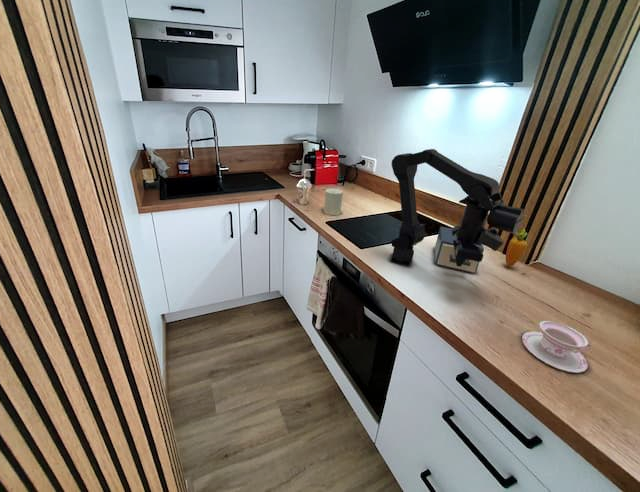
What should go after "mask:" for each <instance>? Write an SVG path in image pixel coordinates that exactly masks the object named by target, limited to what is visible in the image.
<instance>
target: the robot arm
mask: <svg viewBox="0 0 640 492" xmlns="http://www.w3.org/2000/svg"><path fill="white" fill-rule="evenodd" d="M423 164H426V165H428V166H430V167H432V168H433V169H434V170H436V171H438V172H439V173H441V174H443V175H444V176H446V177H447V178H448V179H450V180H452V181H454V182H455V183H457V184H458V185H459V186H460V188H461V190H462V191H463V192H464V193H465V194H466V195H467V196H465V197H464V198H462V199H460V200H459V201H458V203H459V204H463V205H465V208H464V211H463V215H462V218H461V219H460V220H459V225H456V226H453V227H452V229H453V230H452V235H453V236H454V235H455V233H456V237H457V239H456V240H453V245H454V252H455V258H456V265H457V266H459V267H461V266H462V264H463V263H464V262H465V260H466V259H468V260H473V261H478V262H479V263H482V261H483V259H484V252H483V253H482V250H481V249H480V248H479V247H477V245H480V246H481V244H482V245H483V246H485V247H488V248H490V249H491V250H492V251H493V252H497V251H498V250H499V249H500V248H501V247H502V246H503V245H504V244H505V242H504V240H503V237H501V236H500V235H498V230H500V231H503V232H506V233H510V234H511V235H516V234H515V233H516V232H517V231H518V230H519V229H520V227H521V225H522V223H523V220H524V219H523V217H524V208H520V207H515V206H510V205H506V204H504V203H505V202H504V199H503V197H502V195H501V193H500V183H499V182H498V181H497V180H496V179H495V178H493V177H490V176H487V175H485V174H481V173H477V172H473V171H471V170H469V169H468V168H465V167H464V166H462V165H461V164H459V163H458V162H456V161H454V160H452V159H450V158H449V157H447V156H445V154H444V155H443V154H442V153H440V152H438V150H437V149H435V148H427V149H424V150H422V151H419V152H416V153H411V152H409V153H408V152H407V153H401V154H397V155H395V156H394V157H393V158H392V160H391V168H392V172H393V175H394V176H395V178H396V180H397V181H398V188H399V200H400V209H401V220H402V221H401V225H400V226H399V227H400V228H399V229H398V230H399V231H398V237H396V238H394V239H392V240H391V241H390V243H391V247H393V250H392V254H391V258H390V262H391V263H393V264H394V263H395V264H398V265H402V266H403V265H404V266H407V267H409V266H411V263H412V262H413V258H414V255H415V249H414V246H417V244H420V243H421V242H422V241H423V240H424V239H425V236H426V235H427V233H426V231H425V230H426V229H425V227H426V226H425V224H424V223H420V221H419V219H418V213H417V212H418V210H417V199H416V188H415V177H416V174H417V171H418V165H423ZM486 223H487V225H488V226H489V227H490V228H485V224H486ZM475 244H476V245H475Z"/></svg>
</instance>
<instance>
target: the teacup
mask: <svg viewBox="0 0 640 492" xmlns="http://www.w3.org/2000/svg"><path fill="white" fill-rule="evenodd" d="M539 327H540V330H541V331H542V332H541V331H526V332H525V333H523V334H522V337H521V342H522V344H523V346H524V347H525V348H526V349H527V351H528V352H529V353H530V354H531V355H533V356H534V357H535V358H537V359H538V360H539V361H542V363H544V364H546V365H548V366H551V367H552V368H555V369H558V370H560V371H563V372H567V373H573V374H579V373H584V372H585V371H586V370H588V361H587V359H586V357H585V356H584V355H583V354H582V353H584V352H586V351H588V350H589V348H590V347H592V345H591V344H590V343H589V341H588V339H587V338H586V337H585V336H584V335H583V333H580V332H579V331H577V330H576V329H574V328H572V327H570V326H568V325H565V324H563V323H560V322H557V321H552V320H542V321H540V322H539Z"/></svg>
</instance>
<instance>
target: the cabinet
mask: <svg viewBox="0 0 640 492" xmlns="http://www.w3.org/2000/svg"><path fill="white" fill-rule="evenodd" d="M452 230H453V228H450V227H445V226H440V227H439V229H438V234H437V238H436V241H435V244H434V265H437V266H442V267H445V268H449V269H454V270H458V271H463V272H467V273H471V274H476V273H477V270H478V267H479V264H480V262H478V264H477V267H476V270H475V272H470V271H466V270H462V269H457V268H453V267H449V266H444V265H440V264H437V262H438V258H439V255H440V251H441V248H442V245H443V244H449V245H453V240H456V239H457V237H456V233H455V235H454V236H453V235H452ZM475 245H476V244H475ZM477 247H479V248H480V249H481V250H482V253H483V254H484V251H485V248H484V244H481V246H480V245H477Z"/></svg>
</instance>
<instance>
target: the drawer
mask: <svg viewBox="0 0 640 492" xmlns="http://www.w3.org/2000/svg"><path fill="white" fill-rule="evenodd" d="M437 264H440V265H439V266H441V265H444V266H443V267H445V266H449V267H453V268H452V269H454V268H457V269H456V270H458V269H462V270H466V271H470V272H469V273H471V272H475V270H476V267H477V264H478V261H473V260H468V259H466V260H465V262H464V263H463V264H462V266H461V267H459V266H457V265H456V258H455V252H454V246H453V245H449V244H443V245H442V248H441V251H440V255H439V258H438V262H437ZM449 267H448V268H449ZM477 268H478V267H477ZM462 270H461V271H462ZM466 271H465V272H466ZM476 271H477V270H476Z"/></svg>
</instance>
